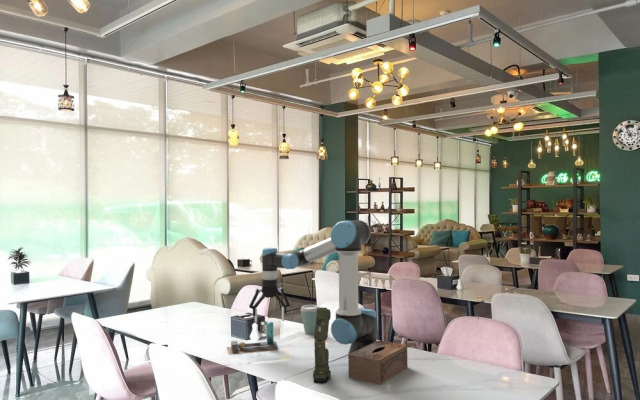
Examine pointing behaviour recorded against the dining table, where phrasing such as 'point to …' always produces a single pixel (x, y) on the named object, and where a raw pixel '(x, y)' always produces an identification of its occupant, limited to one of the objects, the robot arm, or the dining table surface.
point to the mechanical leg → (321, 346)
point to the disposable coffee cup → (309, 318)
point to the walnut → (242, 345)
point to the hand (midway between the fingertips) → (269, 321)
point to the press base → (250, 348)
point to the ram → (269, 335)
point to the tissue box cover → (377, 362)
